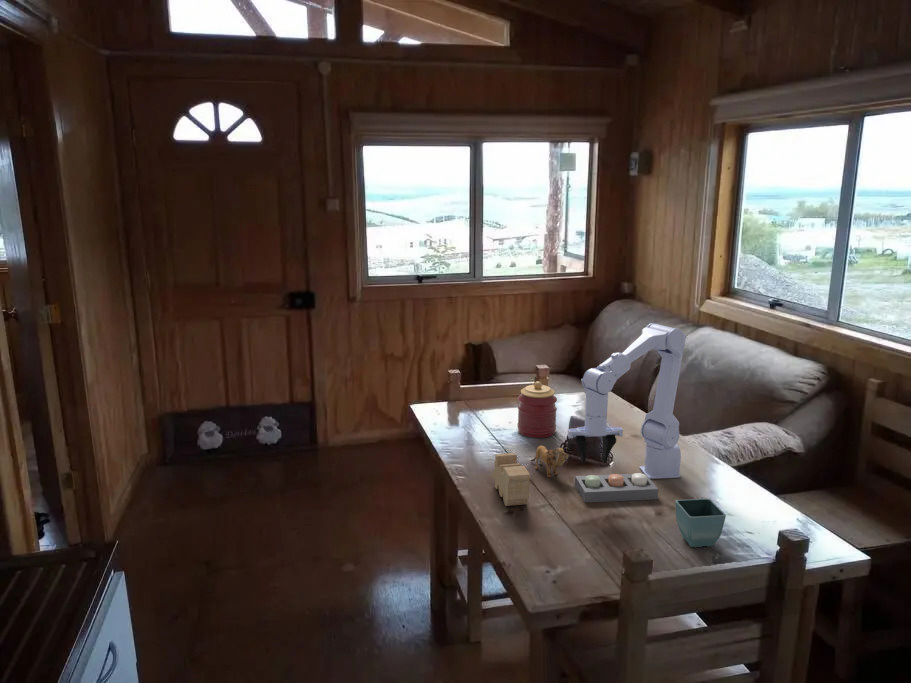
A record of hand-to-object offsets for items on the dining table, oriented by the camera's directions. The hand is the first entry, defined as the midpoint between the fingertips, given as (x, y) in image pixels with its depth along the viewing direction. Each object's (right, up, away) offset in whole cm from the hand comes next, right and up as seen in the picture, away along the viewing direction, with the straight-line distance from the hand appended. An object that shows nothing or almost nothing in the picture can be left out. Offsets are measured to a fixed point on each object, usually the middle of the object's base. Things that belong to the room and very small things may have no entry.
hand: (593, 461), depth 185 cm
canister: (-10, +2, +47) cm, 48 cm away
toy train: (-22, -10, +1) cm, 24 cm away
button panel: (+6, -9, +3) cm, 11 cm away
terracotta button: (+6, -7, +2) cm, 10 cm away
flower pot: (+20, -15, -22) cm, 34 cm away
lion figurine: (-10, -6, +16) cm, 20 cm away
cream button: (+13, -7, +3) cm, 15 cm away
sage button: (0, -8, +2) cm, 8 cm away
